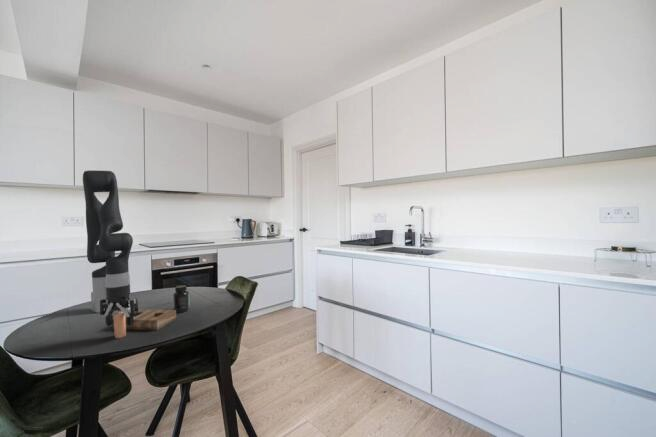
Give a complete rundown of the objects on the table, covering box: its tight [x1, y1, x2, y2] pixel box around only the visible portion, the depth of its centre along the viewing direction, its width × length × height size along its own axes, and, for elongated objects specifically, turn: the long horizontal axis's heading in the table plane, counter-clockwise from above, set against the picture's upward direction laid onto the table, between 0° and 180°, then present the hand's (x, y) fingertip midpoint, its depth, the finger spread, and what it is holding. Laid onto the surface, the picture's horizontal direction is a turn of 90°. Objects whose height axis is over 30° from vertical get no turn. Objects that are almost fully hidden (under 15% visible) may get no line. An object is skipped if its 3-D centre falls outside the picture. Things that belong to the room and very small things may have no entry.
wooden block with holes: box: [112, 308, 177, 331], centre depth 121 cm, size 20×12×4 cm, turn 84°
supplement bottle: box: [172, 284, 190, 314], centre depth 136 cm, size 7×7×12 cm
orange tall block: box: [113, 311, 127, 339], centre depth 109 cm, size 4×4×9 cm
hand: (119, 325), depth 109 cm, fingers open, 8 cm apart
